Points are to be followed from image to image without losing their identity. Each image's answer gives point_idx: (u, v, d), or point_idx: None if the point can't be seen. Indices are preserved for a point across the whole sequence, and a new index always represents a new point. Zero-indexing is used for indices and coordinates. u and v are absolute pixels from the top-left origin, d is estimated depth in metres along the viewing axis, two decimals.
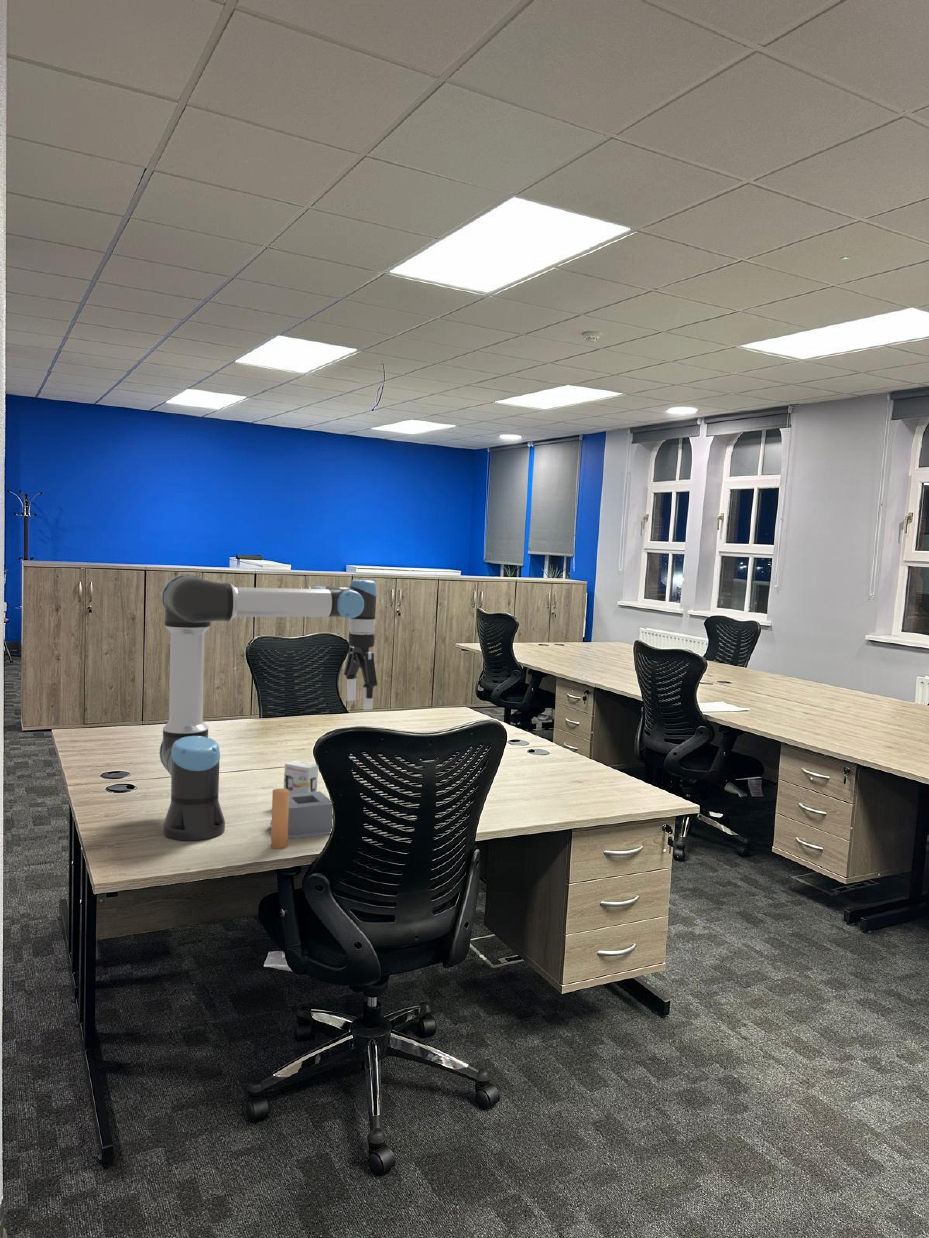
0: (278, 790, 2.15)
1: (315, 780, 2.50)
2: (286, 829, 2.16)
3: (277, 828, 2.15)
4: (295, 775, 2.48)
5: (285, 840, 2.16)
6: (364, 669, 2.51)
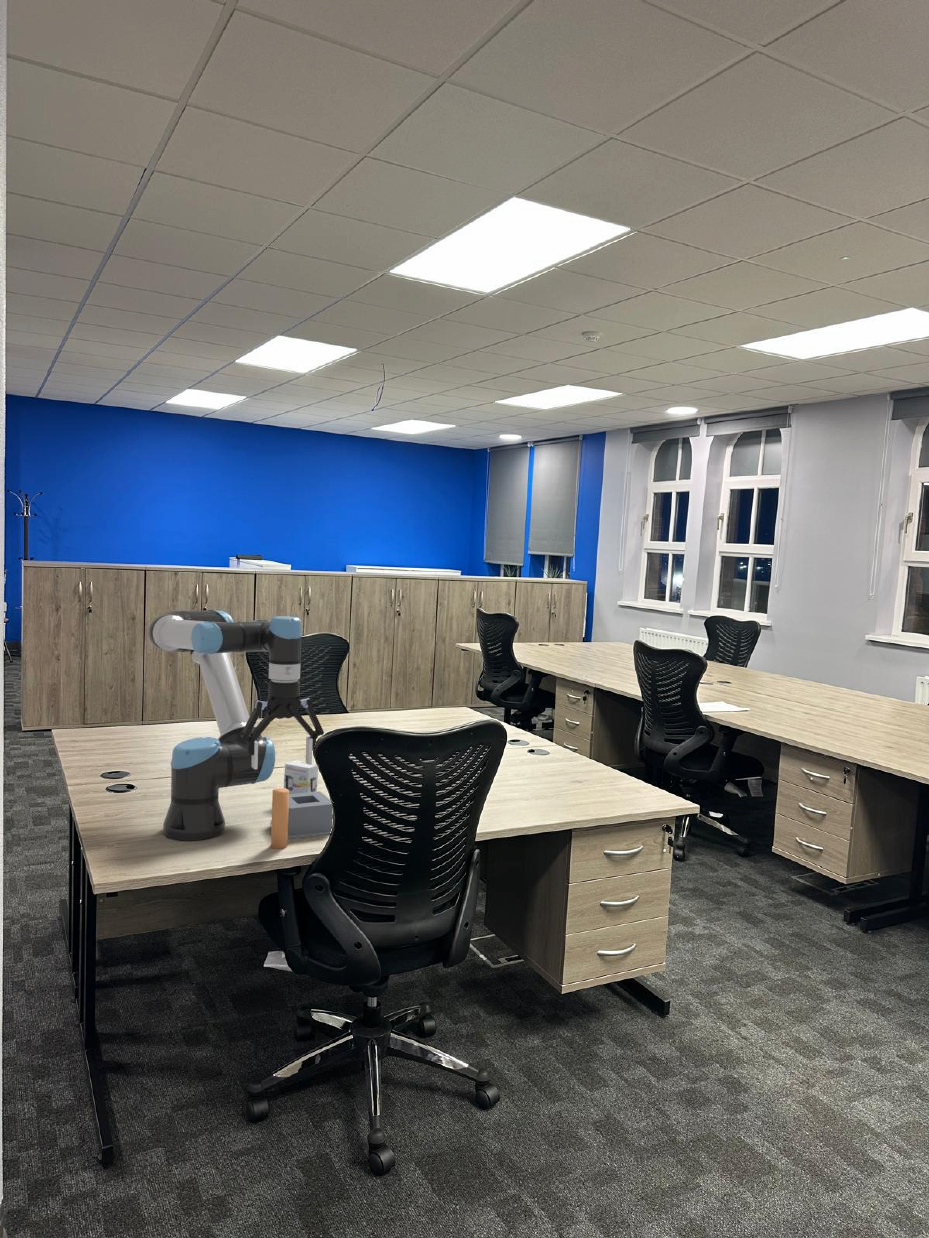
0: (278, 790, 2.15)
1: (315, 780, 2.50)
2: (286, 829, 2.16)
3: (277, 828, 2.15)
4: (295, 775, 2.48)
5: (285, 840, 2.16)
6: None
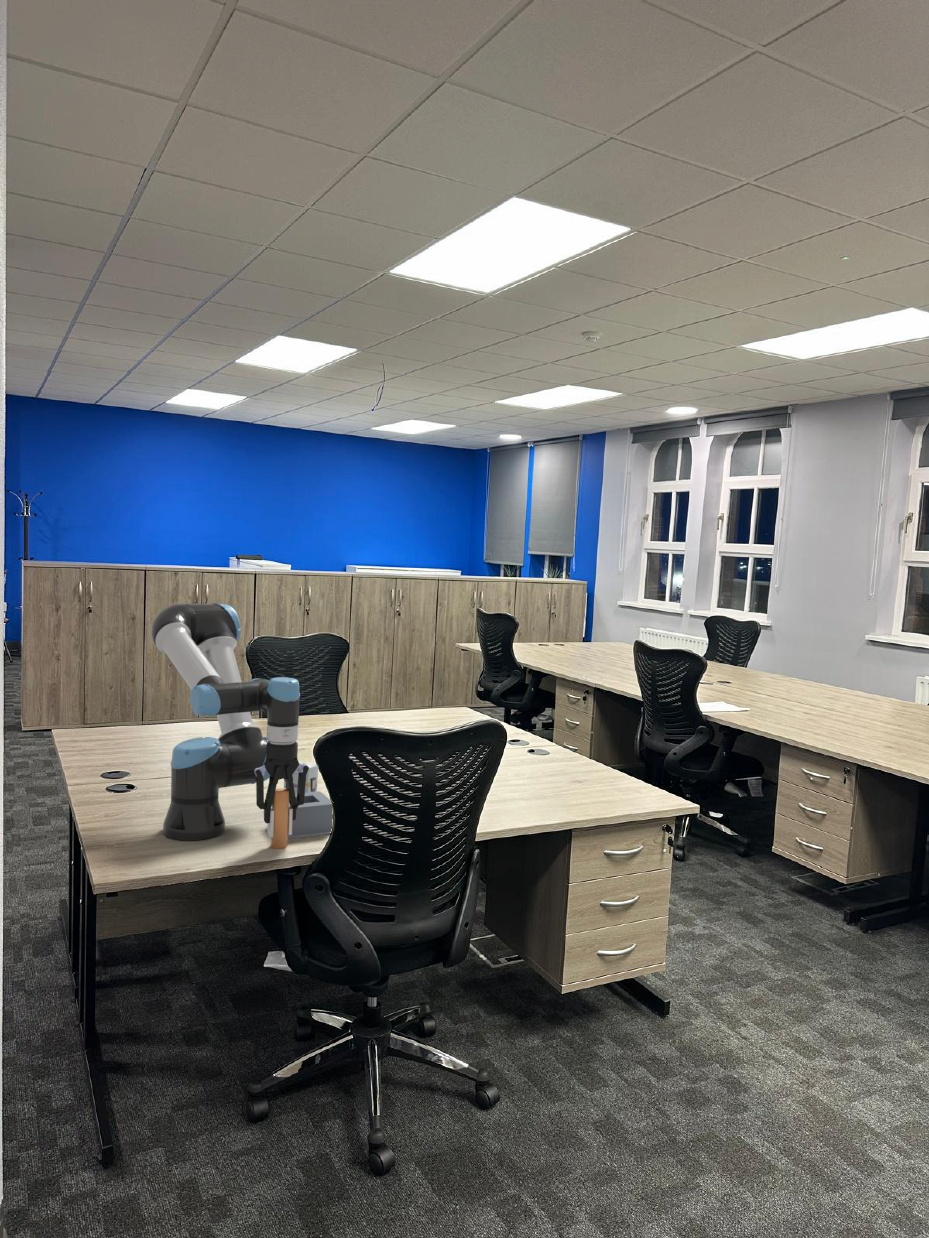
0: (278, 790, 2.15)
1: (315, 780, 2.50)
2: (286, 829, 2.16)
3: (277, 828, 2.15)
4: (295, 775, 2.48)
5: (285, 840, 2.16)
6: (268, 786, 2.15)
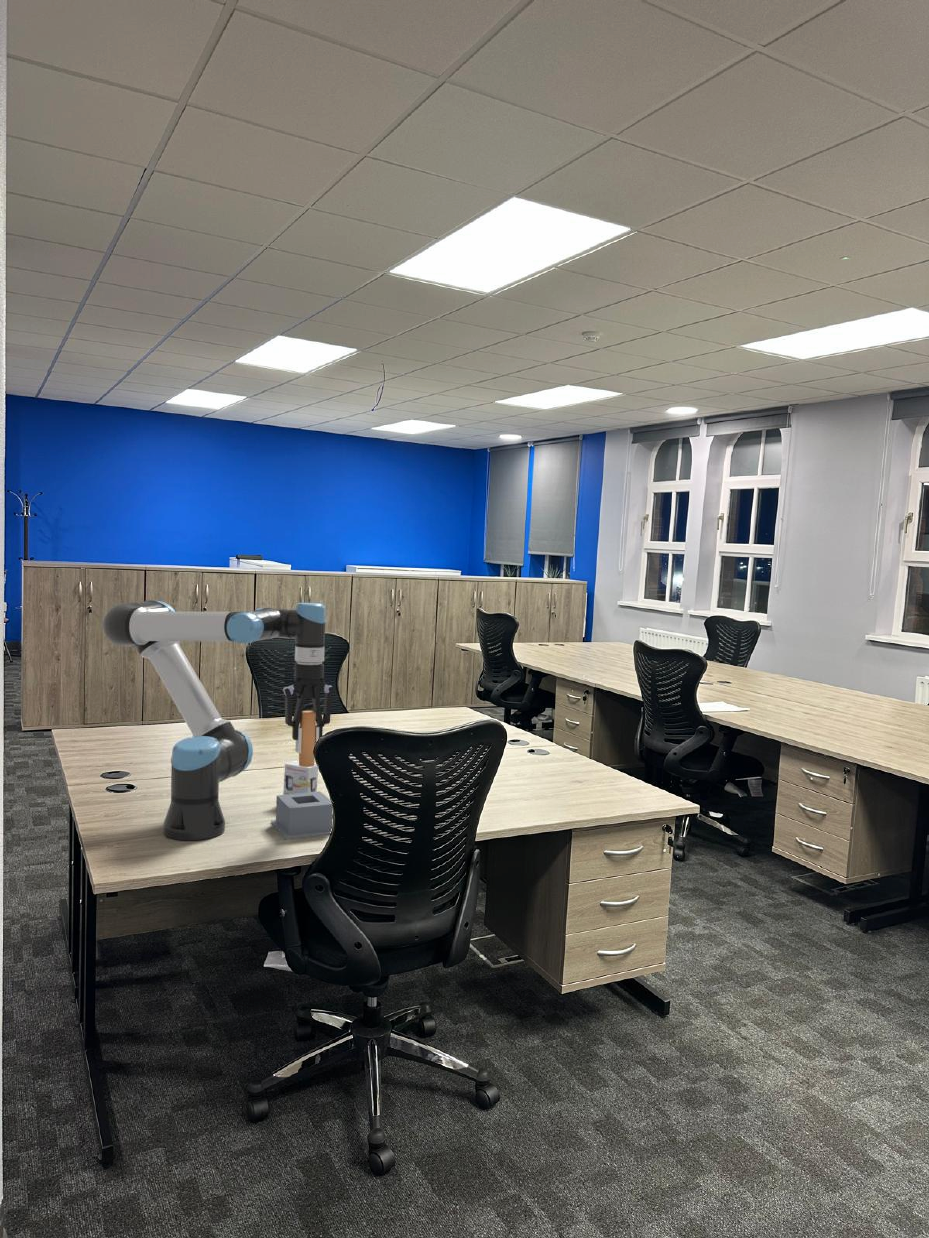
0: (305, 712, 2.28)
1: (315, 780, 2.50)
2: (313, 748, 2.28)
3: (304, 747, 2.27)
4: (295, 775, 2.48)
5: (312, 759, 2.28)
6: (296, 705, 2.27)
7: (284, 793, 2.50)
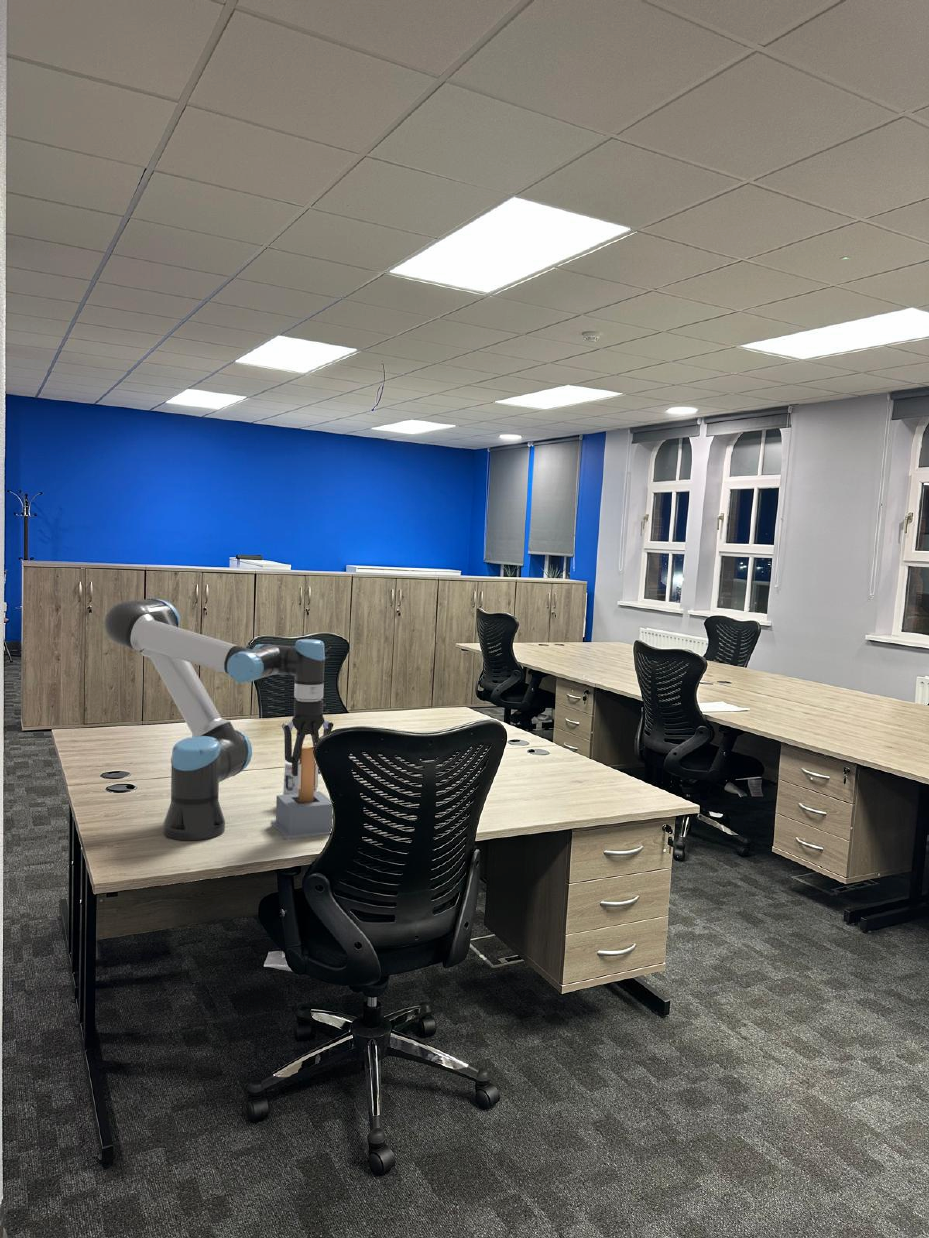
0: (304, 748, 2.29)
1: None
2: (312, 784, 2.29)
3: (304, 783, 2.28)
4: None
5: (312, 795, 2.29)
6: (296, 741, 2.29)
7: (284, 793, 2.50)
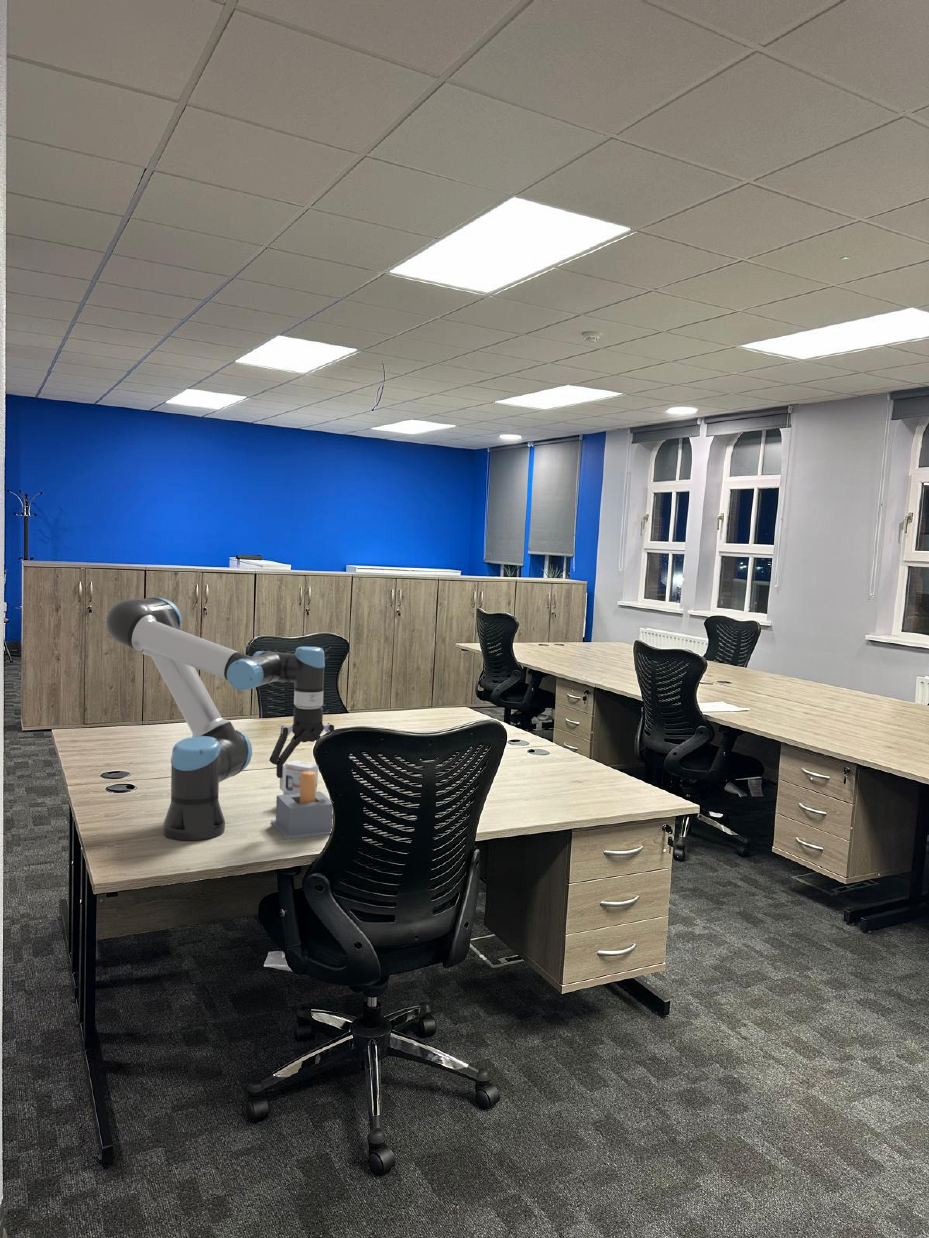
0: (305, 773, 2.30)
1: None
2: None
3: None
4: (295, 775, 2.48)
5: None
6: (288, 745, 2.28)
7: (284, 793, 2.50)
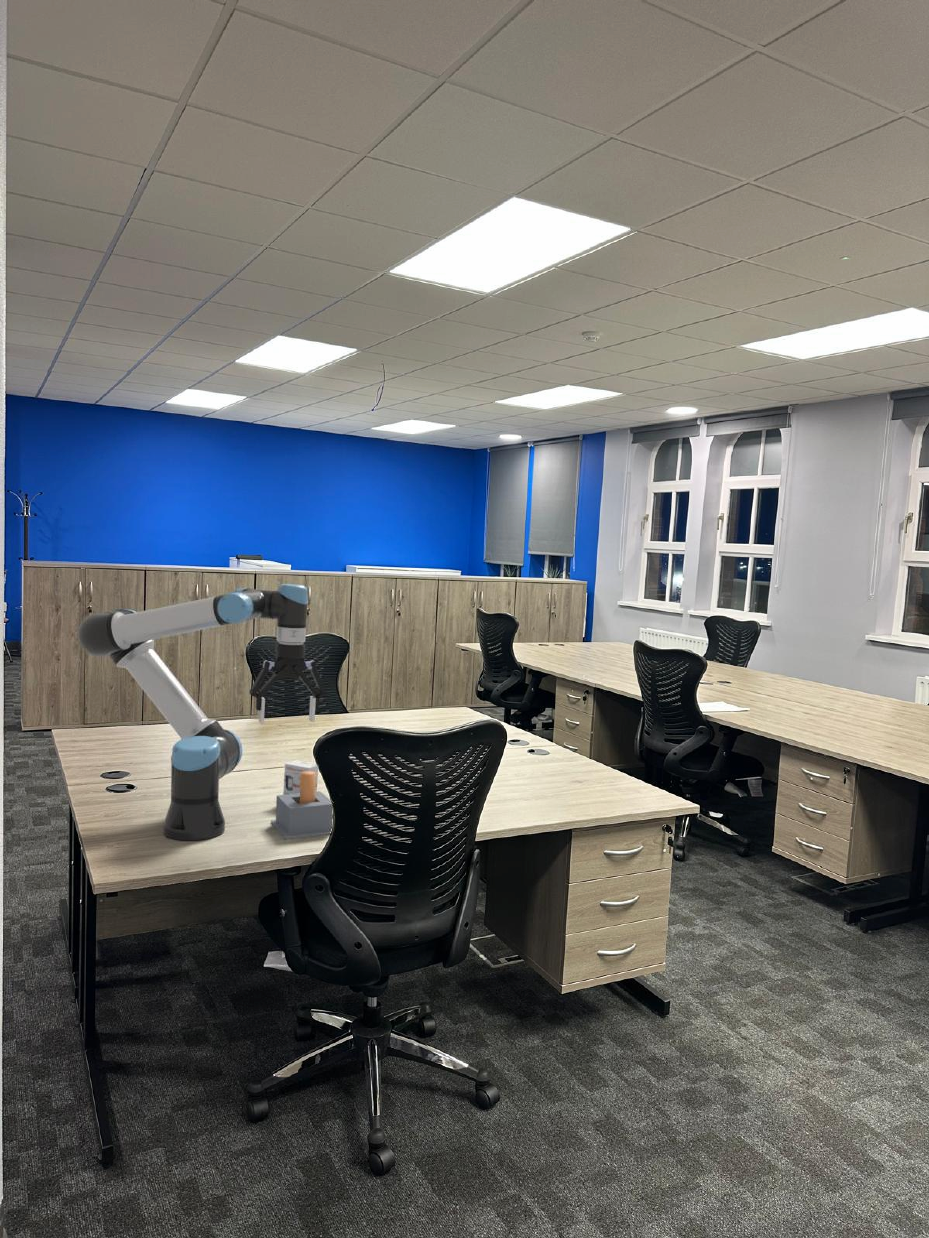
0: (305, 773, 2.30)
1: None
2: None
3: None
4: (295, 775, 2.48)
5: None
6: (269, 679, 2.31)
7: (284, 793, 2.50)
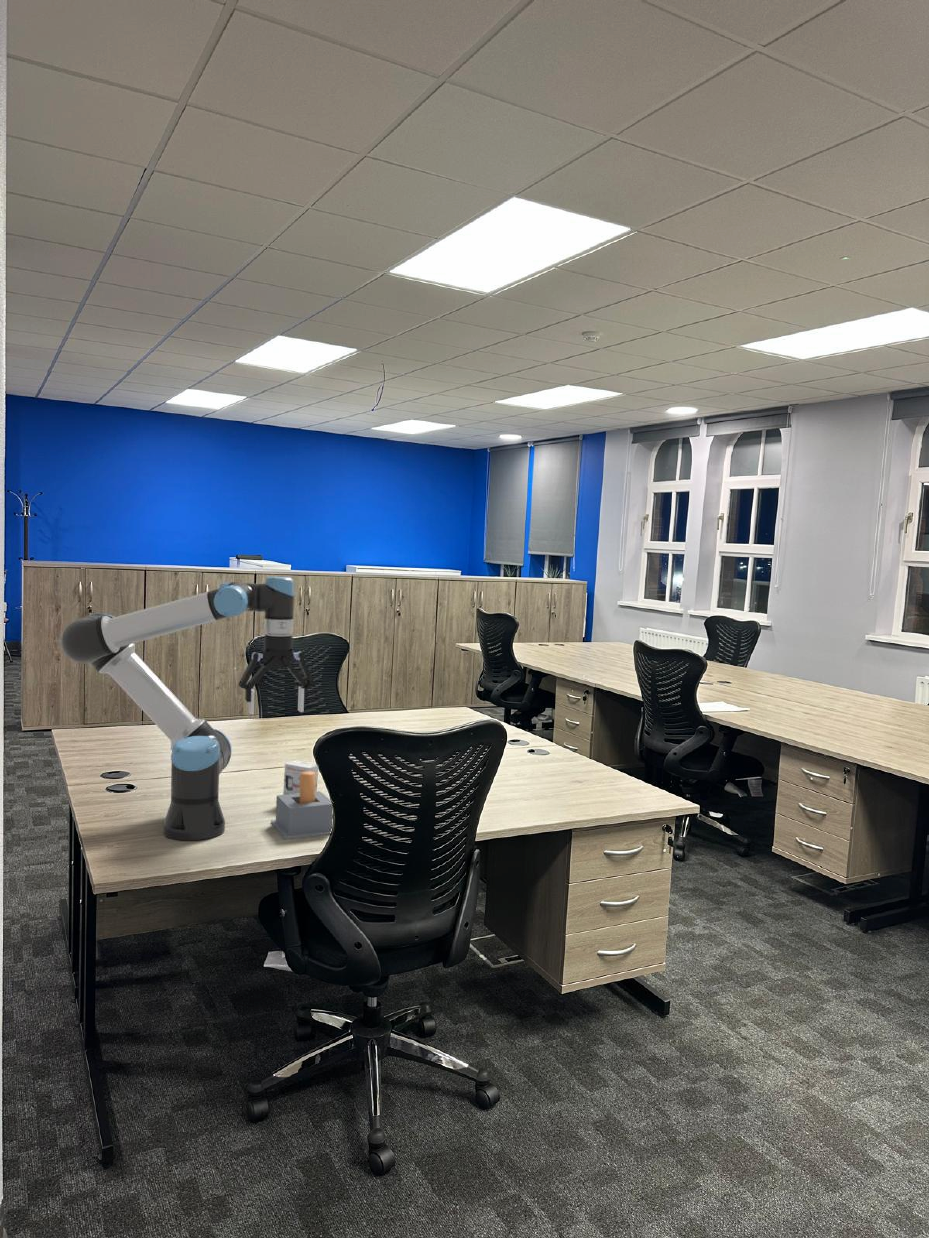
0: (305, 773, 2.30)
1: None
2: None
3: None
4: (295, 775, 2.48)
5: None
6: (258, 671, 2.34)
7: (284, 793, 2.50)
